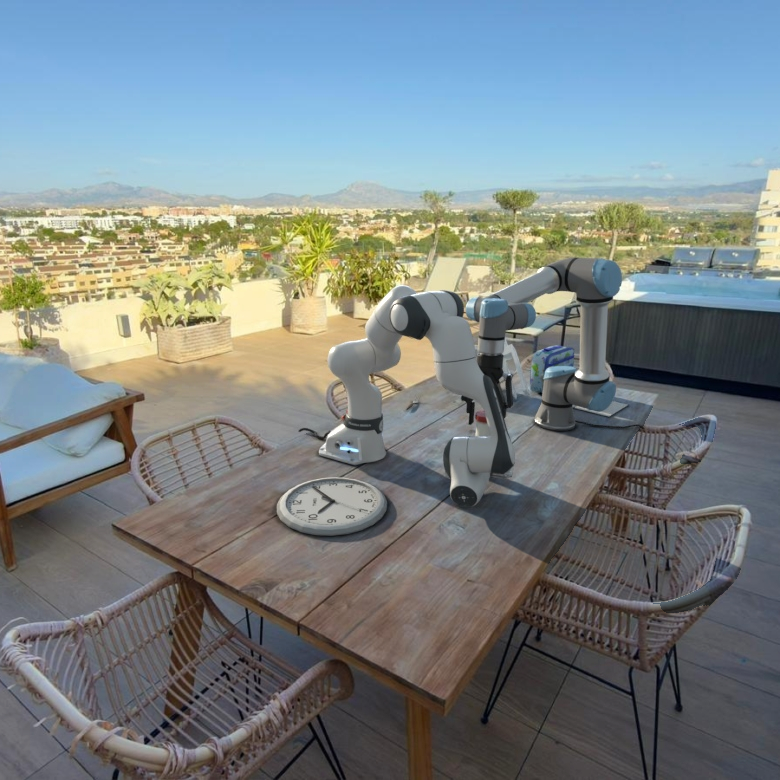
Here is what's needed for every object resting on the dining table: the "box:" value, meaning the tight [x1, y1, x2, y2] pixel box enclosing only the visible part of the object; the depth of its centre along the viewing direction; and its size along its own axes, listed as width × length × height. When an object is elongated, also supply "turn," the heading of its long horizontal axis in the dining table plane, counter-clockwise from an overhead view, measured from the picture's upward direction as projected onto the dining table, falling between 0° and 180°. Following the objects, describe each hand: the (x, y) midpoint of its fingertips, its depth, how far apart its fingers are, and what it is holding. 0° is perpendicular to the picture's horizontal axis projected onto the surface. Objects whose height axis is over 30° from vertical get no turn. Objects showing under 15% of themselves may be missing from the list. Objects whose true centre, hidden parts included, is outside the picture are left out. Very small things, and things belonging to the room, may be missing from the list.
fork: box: [406, 394, 421, 411], centre depth 223 cm, size 3×16×2 cm, turn 160°
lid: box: [474, 410, 487, 423], centre depth 157 cm, size 6×6×2 cm
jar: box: [474, 420, 491, 437], centre depth 160 cm, size 5×5×19 cm
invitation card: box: [573, 400, 629, 418], centre depth 226 cm, size 21×1×15 cm
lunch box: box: [529, 345, 575, 394], centre depth 245 cm, size 26×11×21 cm, turn 134°
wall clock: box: [276, 476, 388, 537], centre depth 142 cm, size 30×2×30 cm
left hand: (483, 453), depth 162 cm, fingers closed on jar, 5 cm apart
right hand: (484, 425), depth 158 cm, fingers open, 8 cm apart
